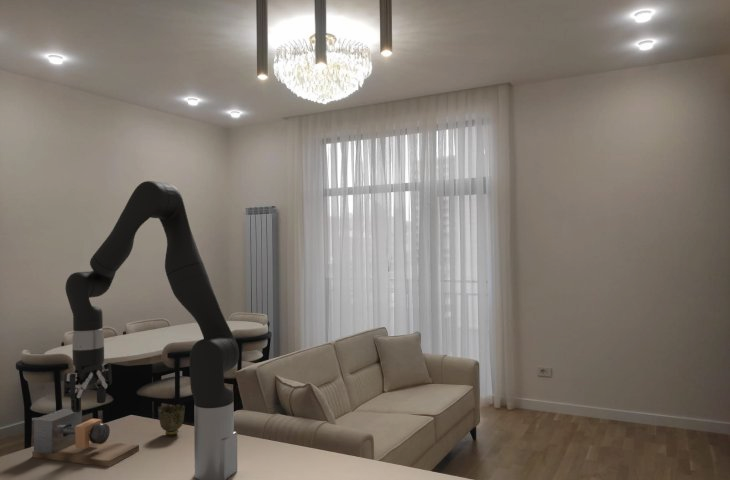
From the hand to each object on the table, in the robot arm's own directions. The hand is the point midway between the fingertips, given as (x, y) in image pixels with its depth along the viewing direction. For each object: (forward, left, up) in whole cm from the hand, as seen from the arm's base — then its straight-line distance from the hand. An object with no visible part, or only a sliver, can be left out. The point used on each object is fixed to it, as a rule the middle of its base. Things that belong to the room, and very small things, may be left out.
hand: (89, 407), depth 143 cm
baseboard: (+1, -1, -13) cm, 13 cm away
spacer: (0, 0, -10) cm, 10 cm away
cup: (-12, -19, -13) cm, 26 cm away
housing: (+10, 0, -11) cm, 15 cm away
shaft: (+2, 0, -9) cm, 9 cm away
